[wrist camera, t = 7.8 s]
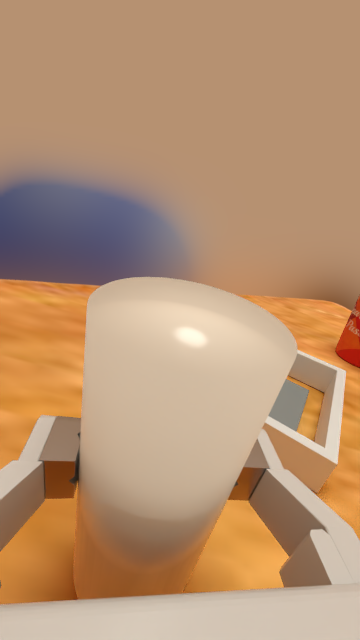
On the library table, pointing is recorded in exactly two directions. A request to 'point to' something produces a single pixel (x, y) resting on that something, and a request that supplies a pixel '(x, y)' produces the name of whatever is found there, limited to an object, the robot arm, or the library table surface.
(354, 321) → the paper cup
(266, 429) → the corral
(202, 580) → the library table surface
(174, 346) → the white pillar candle
